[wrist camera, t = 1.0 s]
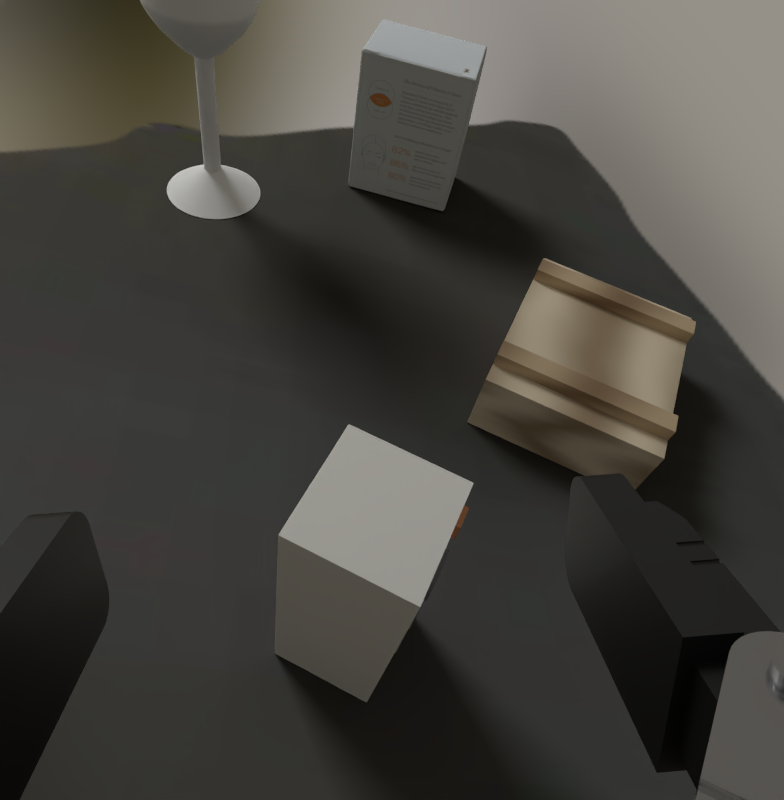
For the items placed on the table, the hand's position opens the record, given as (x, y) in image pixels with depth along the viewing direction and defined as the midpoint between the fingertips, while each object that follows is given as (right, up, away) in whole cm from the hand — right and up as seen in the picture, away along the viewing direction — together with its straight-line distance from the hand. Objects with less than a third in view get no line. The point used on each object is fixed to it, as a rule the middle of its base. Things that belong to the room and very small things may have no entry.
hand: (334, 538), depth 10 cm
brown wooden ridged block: (+12, +3, +29) cm, 32 cm away
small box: (+2, +20, +40) cm, 45 cm away
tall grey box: (-1, -8, +18) cm, 20 cm away
